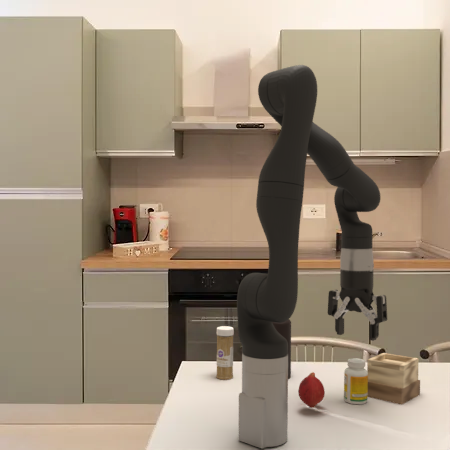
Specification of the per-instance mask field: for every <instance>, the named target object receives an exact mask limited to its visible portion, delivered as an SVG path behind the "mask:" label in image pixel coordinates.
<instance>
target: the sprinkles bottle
mask: <svg viewBox="0 0 450 450" xmlns="http://www.w3.org/2000/svg"><path fill="white" fill-rule="evenodd" d="M234 330H235V329H234V327H232V326H227V325H221V326H217V327H216V339H217V340H216V376H215V377H216V378H217V380H223V381H225V380H226V381H227V380H231V379H233V378H234V374H233V372H234V333H235V331H234Z"/></svg>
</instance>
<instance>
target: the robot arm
mask: <svg viewBox="0 0 450 450" xmlns="http://www.w3.org/2000/svg"><path fill="white" fill-rule="evenodd" d="M257 94H258V99H259V101H260V104H261V106H262V107H263V108H264V110H265V111H266V112H267V113H268V115H269V116H271V118H272V119H273V120H275V122H277V123H278V124H279V126H280V131H279V134H278V138H277V139H276V141H275V143H274V144H273V147H272V149H271V151H270V153H269V154H268V156H267V158H266V159H265V161H264V163H263V165H262V167H261V170H260V173H259V175H258V183H257V193H256V199H255V200H256V203H255V205H256V206H255V207H256V212H257V213H256V214H257V217H258V219H259V222H260V225H261V228H262V229H263V233H264V235H265V238H266V242H267V246H268V256H269V257H268V268H267V269H268V270H267V273H261V272H252V273H251V272H250V273H249V274H247V275H246V276H244V277H243V278H242V280H241V282H240V284H239V286H238V290H237V295H236V312H237V313H236V315H237V333H238V339H239V342H240V343H241V361H242V362H241V365H242V366H241V392H239V393H238V441H239V442H243V443H246V444H248V445H250V446H253V447H256V448H259V449H265V448H270V447H271V448H273V447H278V446H281V445H283V444H285V443H286V442H287V441H288V424H289V423H288V422H289V420H288V419H289V415H288V412H289V408H288V407H289V405H288V404H289V403H288V402H289V400H288V399H289V395H288V394H289V387H288V386H289V379H288V342H287V340H286V339H285V338H284V337H283V336H282V335H281V334H279V333H278V332H277V330H276V329H275V327H274V326H273V323H272V322H277V323H282V322H285V321H287V320H288V319H289V320H290V318H291V317H292V316H293V314H294V313H295V309H296V306H297V302H298V295H299V294H298V293H299V291H298V290H299V285H298V284H299V240H300V239H299V238H300V226H301V215H302V208H303V200H304V193H305V192H304V191H305V173H306V166H307V158H308V157H307V156H309V157H310V158H311V160H312V161H313V162H314V164H315V166H316V167H317V168H318V170H319V171H320V172H321V175H323V177H324V178H325V179H326V181H327V182H328V183H329V185H331V186H333V187H336V189H335V192H334V198H333V200H334V201H333V203H334V207H335V211H336V215H337V218H338V224H339V226H340V230H341V241H340V242H341V249H340V261H339V263H340V264H339V265H340V266H339V269H340V271H339V272H340V274H339V276H340V277H339V281H340V283H339V286H340V290H338V289H331V290H329V291H328V296H327V297H328V298H327V299H328V300H327V301H328V302H327V315H329V316H332V317H333V318H334V323H335V324H334V331H335V333H336V335H338V336H341V335H344V333H345V318H344V316H345V315H346V314H347V313H348V312H357V313H362V314H363V315H364V316H365V317H366V318H367V319H368V320H367V321H368V322H370V324H369V325H368V326H369V327H368V329H369V331H368V332H369V333H368V335H369V336H368V337H369V341H373V342H374V341H376V340H377V339H378V338H379V335H380V334H379V331H380V326H379V325H380V323H384V322H386V321H387V320H388V306H387V305H388V304H387V296H386V295H385V294H381V295H375V294H374V292H373V290H374V267H375V263H374V261H375V260H374V253H373V227H372V225H371V224H369V223H367V222H363V221H361V220H360V218H359V214H358V213H370V212H374V211H375V210H376V209H377V208H378V206H379V205H380V203H381V192H380V189H379V186H378V185H377V183H376V181H374V179H372V178H371V177H370V176H369V175H368V174H367V173H366V172H364V171H363V169H362V168H360V167H359V166H357V165H356V164H355V163H354V161H353V160H352V159H351V156H350V155H349V153H348V152H347V151H346V149H345V148H344V146H343V145H342V144H341V142H340V141H339V140H338V139H337V138H335V136H333V135H332V134H330V133H329V132H328V131H326V130H325V129H323V128H322V127H320V126H319V125H318V124H316V123H315V122H313V121H314V118H315V117H314V116H315V110H316V107H317V100H318V99H317V98H318V82H317V77H316V75H315V73H314V71H313V70H312V69H311V67H310V66H307V65H304V64H297V65H296V64H295V65H291V66H287V67H284V68H281V69H276V70H273V71H271V72H268V73H266V74H264V75H263V76H262V77H261V79H260V81H259V83H258V87H257ZM339 300H341V302H342V303H341V304H340V306H339V307H338V304H339V303H338V302H339ZM372 303H374V305H376V309H375V308H374V306H373V304H372Z"/></svg>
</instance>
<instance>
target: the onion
mask: <svg viewBox="0 0 450 450" xmlns="http://www.w3.org/2000/svg"><path fill="white" fill-rule="evenodd" d="M325 392H326V391H325V387H324V384H323V382H322V380H320V379H319V378H317V377H316V373H315V372H313V371H312V372H310V373H309V375H307V376H305V377H304V378H303V379H302V381H301V382H300V383H299V386H298V396H299V400H301V402H303V403H304V404H305V405H307V407H308V408H312V409H313V408H315V407H317V405H318V404H319V403H321V402H322V401H323V399H324V398H325V395H326V393H325Z"/></svg>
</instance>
